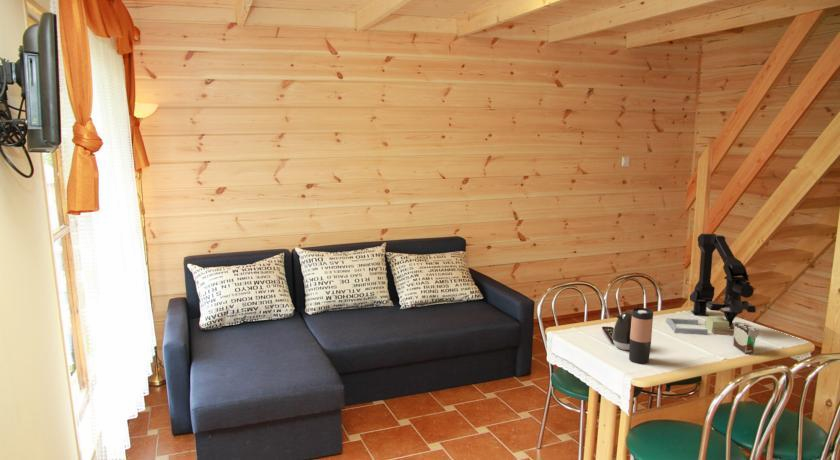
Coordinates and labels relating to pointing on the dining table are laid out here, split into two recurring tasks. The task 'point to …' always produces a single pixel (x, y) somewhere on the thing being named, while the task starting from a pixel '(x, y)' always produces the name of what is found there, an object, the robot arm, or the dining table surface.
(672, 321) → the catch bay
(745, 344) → the food container
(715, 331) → the walnut chute
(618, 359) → the dining table surface
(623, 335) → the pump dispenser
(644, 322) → the travel mug
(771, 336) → the dining table surface
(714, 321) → the olive block
